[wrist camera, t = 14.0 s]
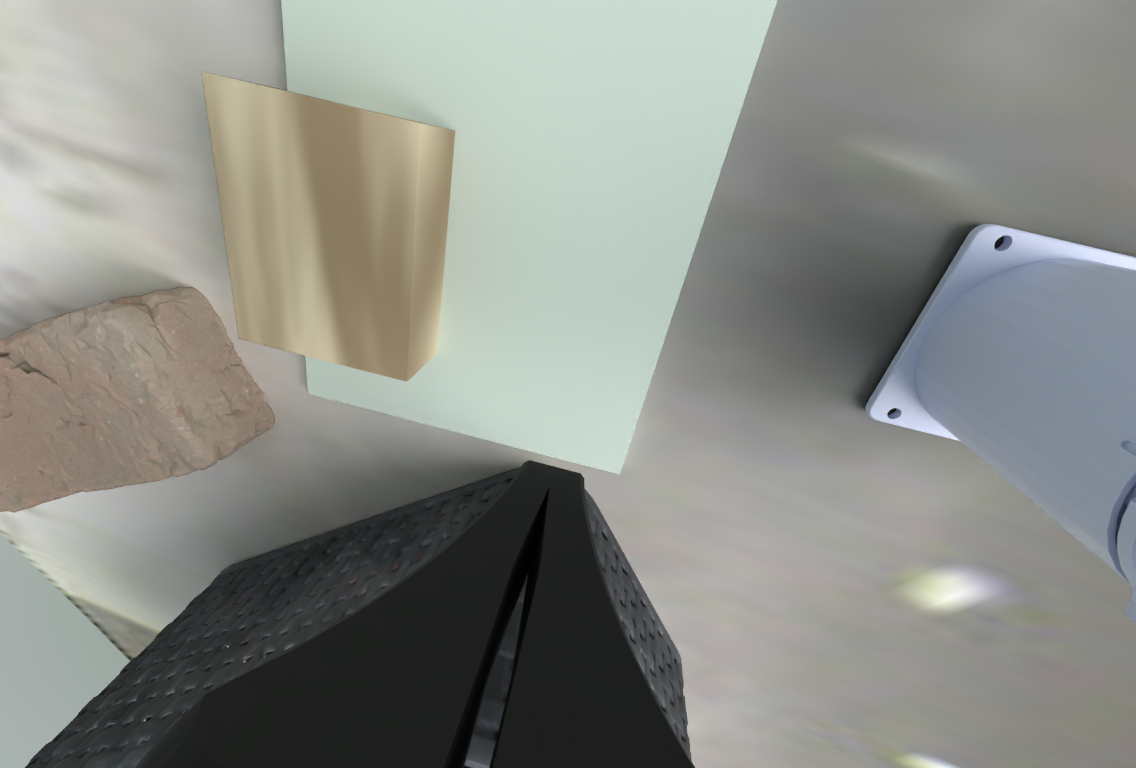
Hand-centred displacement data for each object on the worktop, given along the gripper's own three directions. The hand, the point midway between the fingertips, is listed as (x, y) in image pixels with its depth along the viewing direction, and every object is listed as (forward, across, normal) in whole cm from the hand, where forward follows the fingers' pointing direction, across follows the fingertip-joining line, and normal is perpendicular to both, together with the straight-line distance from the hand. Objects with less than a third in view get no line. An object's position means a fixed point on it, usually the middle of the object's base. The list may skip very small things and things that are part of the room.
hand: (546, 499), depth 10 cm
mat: (+10, +5, -4) cm, 12 cm away
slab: (+8, +7, -2) cm, 11 cm away
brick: (+11, +24, +9) cm, 28 cm away
